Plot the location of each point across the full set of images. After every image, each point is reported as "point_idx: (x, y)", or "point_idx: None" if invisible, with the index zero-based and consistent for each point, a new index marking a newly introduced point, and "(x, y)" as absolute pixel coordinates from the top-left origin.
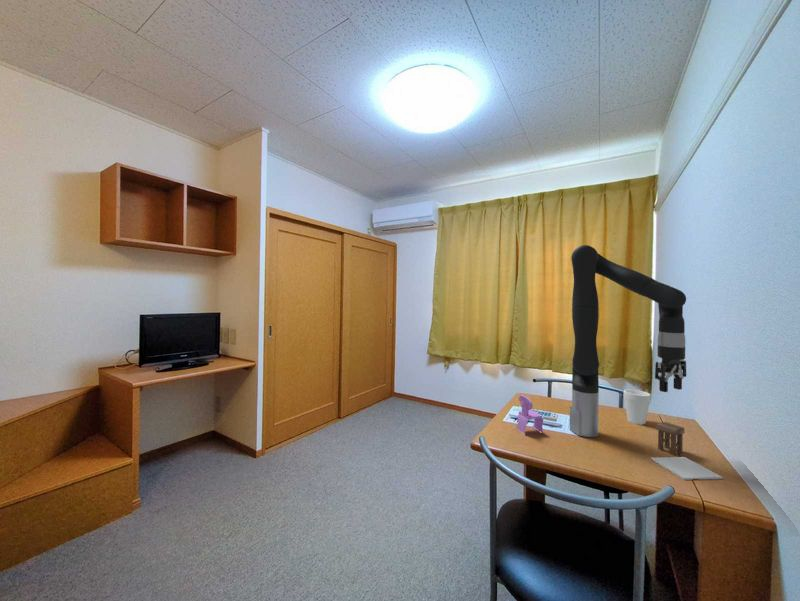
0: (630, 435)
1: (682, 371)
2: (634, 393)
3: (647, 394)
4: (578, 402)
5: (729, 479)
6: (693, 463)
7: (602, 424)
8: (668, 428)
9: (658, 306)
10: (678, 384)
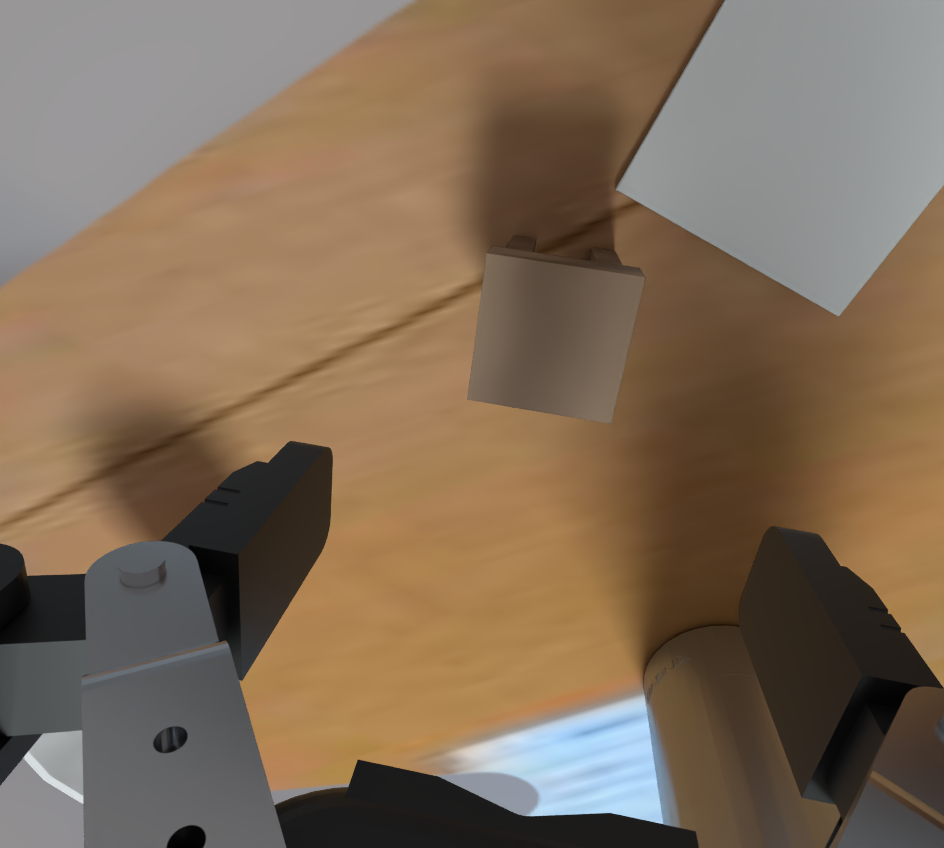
0: (507, 522)
1: (95, 719)
2: (70, 746)
3: None
4: None
5: None
6: (691, 111)
7: (475, 671)
8: (630, 330)
9: None
10: (293, 522)
